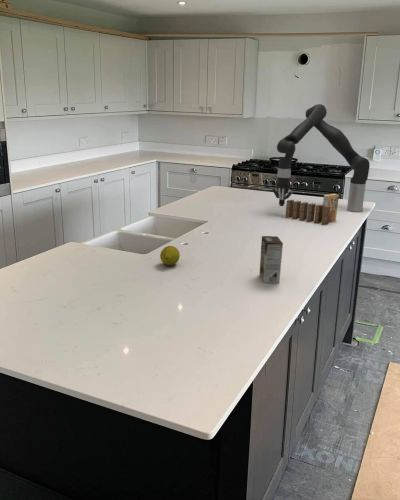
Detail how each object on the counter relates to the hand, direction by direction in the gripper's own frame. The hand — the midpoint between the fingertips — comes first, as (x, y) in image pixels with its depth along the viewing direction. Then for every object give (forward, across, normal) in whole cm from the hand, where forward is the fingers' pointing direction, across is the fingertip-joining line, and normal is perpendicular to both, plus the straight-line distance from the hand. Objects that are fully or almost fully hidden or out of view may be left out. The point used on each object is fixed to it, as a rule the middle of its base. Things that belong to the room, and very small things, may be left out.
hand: (281, 205), depth 299 cm
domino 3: (+6, +15, 0) cm, 16 cm away
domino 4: (+6, +19, 0) cm, 20 cm away
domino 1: (+6, +6, 0) cm, 8 cm away
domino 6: (+6, +28, 0) cm, 29 cm away
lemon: (+6, +11, -111) cm, 112 cm away
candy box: (+6, +27, +7) cm, 28 cm away
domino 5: (+6, +24, 0) cm, 24 cm away
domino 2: (+6, +10, 0) cm, 12 cm away
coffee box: (+6, +50, -97) cm, 109 cm away
